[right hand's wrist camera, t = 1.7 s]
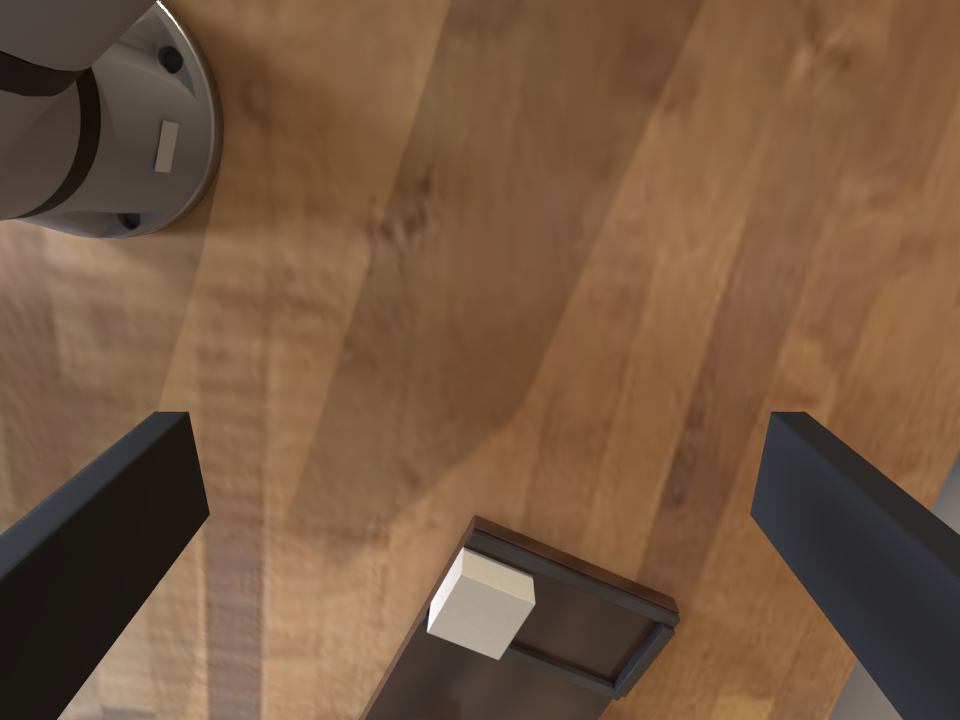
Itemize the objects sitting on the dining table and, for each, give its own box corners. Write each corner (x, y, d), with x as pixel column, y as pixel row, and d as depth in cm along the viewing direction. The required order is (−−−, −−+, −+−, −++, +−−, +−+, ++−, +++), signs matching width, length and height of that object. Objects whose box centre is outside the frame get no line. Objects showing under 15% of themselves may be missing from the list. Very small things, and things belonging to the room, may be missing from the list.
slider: (430, 602, 44) (426, 632, 41) (463, 546, 42) (460, 573, 39) (498, 629, 44) (498, 660, 42) (533, 575, 43) (536, 604, 40)
